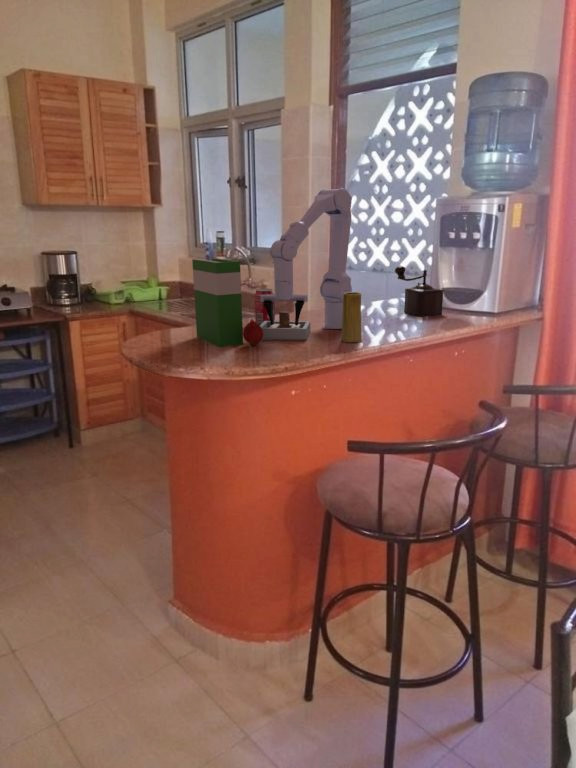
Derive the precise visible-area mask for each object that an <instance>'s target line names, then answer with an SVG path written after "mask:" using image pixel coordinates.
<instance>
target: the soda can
mask: <svg viewBox="0 0 576 768" xmlns="http://www.w3.org/2000/svg"><path fill="white" fill-rule="evenodd" d="M270 294H275V292H273V289H272V288H257V289H255V292H254V296H253V297H254V298H253V299H254V321H255V322H256V323H258V324H260V325H261V324H262V323H263V322H264V321H270V319H269V316H268V313H267V311H266V309H265V307H264V302H260V295H270ZM275 303H276V301H274V308H273V314H274V321H276V319H275V318H276V304H275Z"/></svg>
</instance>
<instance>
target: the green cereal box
mask: <svg viewBox="0 0 576 768" xmlns="http://www.w3.org/2000/svg"><path fill="white" fill-rule="evenodd" d="M191 261H192V262H191V263H192V275H193V277H192V279H193V291H194V293H193V294H194V295H193V296H194V310H195V312H194V313H195V326H196V327H195V328H196V338H198V339H200V338H201V340H202V339H203V341H204V340H205V342H208V343H209V344H211V343H212V344H211V345H214V346H216V347H218V348H225V347H227V348H228V347H232V346H241V345H244V337H243V330H244V327H243V326H244V325H243V308H242V307H243V305H242V304H243V303H242V301H243V300H242V280H241V279H242V277H241V261H240V260H239V261H238V260H232V259H224V258H223V259H222V258H216V257H215V258H211V260H202V259H196V258H195V259H194V258H193V259H191Z"/></svg>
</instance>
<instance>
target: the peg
mask: <svg viewBox="0 0 576 768" xmlns="http://www.w3.org/2000/svg"><path fill="white" fill-rule="evenodd" d="M278 314H279V315H278V321H279V328H290V321H291V320H290V319H291V318H290V317H291V315H290V314H291V313H290V311H279V313H278Z"/></svg>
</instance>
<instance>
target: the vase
mask: <svg viewBox="0 0 576 768" xmlns="http://www.w3.org/2000/svg"><path fill="white" fill-rule="evenodd" d="M340 341H341V342H342V341H343V342H342V343H345V342H358V343H361V342H362V341H363V340H362V293H361V292H359V291H357V292H356V291H352V292H345V293H343V317H342V329H341V337H340ZM360 341H361V342H360Z"/></svg>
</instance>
